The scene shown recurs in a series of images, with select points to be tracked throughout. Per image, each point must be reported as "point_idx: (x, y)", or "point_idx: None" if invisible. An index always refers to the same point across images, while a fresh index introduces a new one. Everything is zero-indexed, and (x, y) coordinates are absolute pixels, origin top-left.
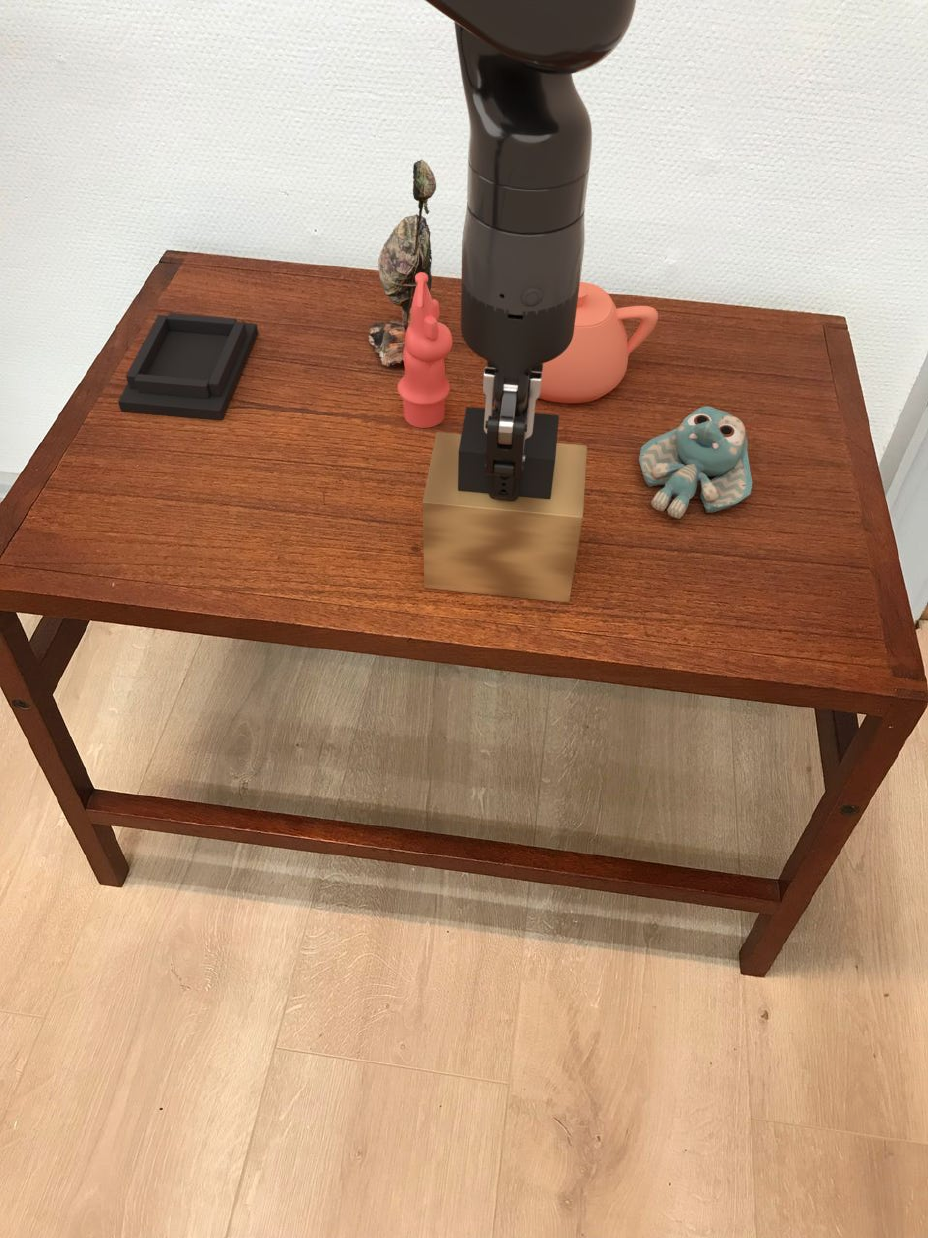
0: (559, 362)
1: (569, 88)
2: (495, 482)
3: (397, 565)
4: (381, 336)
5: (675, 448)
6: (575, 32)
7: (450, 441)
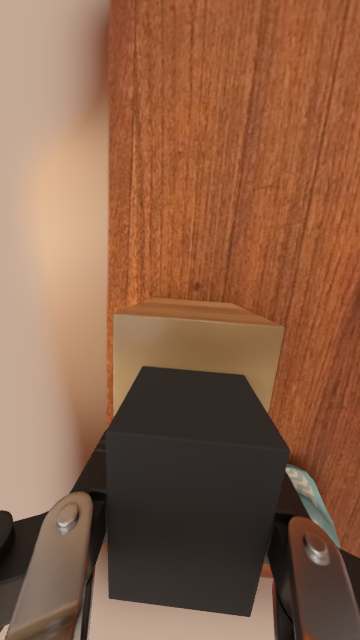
0: None
1: None
2: (91, 458)
3: (177, 272)
4: None
5: (302, 493)
6: None
7: (258, 350)
